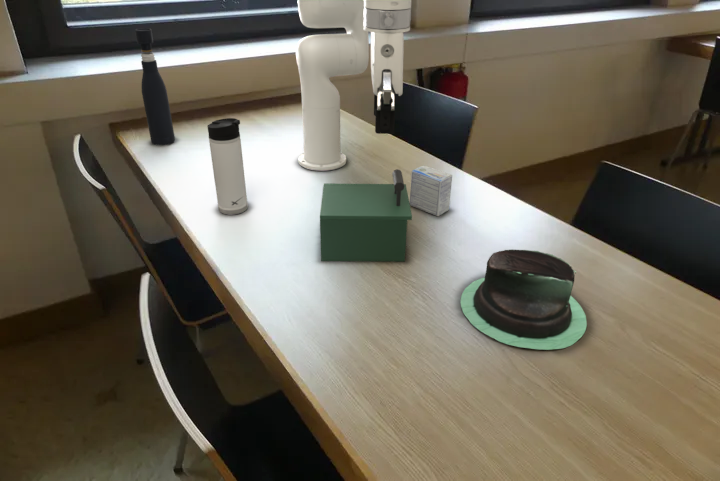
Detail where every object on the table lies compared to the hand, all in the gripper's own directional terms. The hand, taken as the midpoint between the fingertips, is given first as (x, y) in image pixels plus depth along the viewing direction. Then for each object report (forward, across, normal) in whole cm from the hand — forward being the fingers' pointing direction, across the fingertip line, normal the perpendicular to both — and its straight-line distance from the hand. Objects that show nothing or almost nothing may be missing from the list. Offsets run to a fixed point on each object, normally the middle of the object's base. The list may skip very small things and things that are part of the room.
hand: (383, 124), depth 94 cm
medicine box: (+24, +14, -11) cm, 30 cm away
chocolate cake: (+24, -22, -23) cm, 40 cm away
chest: (+24, -1, +3) cm, 24 cm away
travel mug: (+24, +13, +32) cm, 42 cm away
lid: (+15, -1, +3) cm, 15 cm away
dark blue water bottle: (+23, +54, +60) cm, 84 cm away
